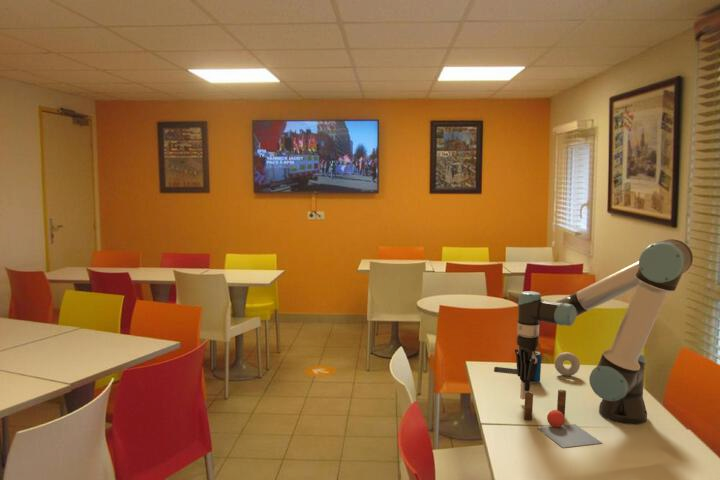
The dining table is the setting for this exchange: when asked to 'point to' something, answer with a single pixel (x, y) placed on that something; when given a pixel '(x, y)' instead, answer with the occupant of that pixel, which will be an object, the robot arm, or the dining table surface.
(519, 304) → the robot arm
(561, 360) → the donut
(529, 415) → the post left
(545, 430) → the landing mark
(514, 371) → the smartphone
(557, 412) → the ball
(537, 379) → the beverage can
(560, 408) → the post right
